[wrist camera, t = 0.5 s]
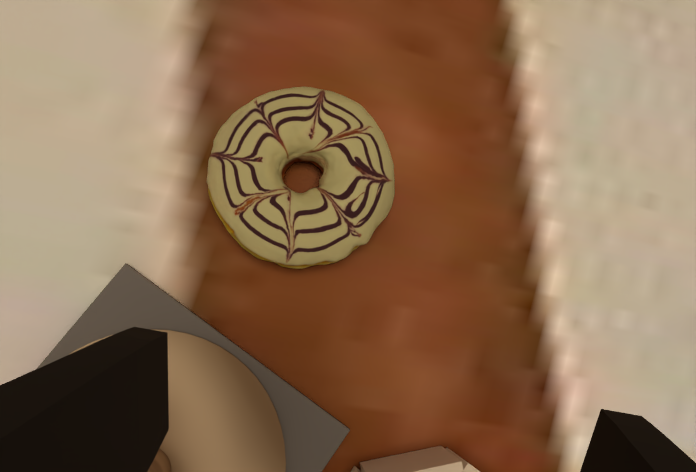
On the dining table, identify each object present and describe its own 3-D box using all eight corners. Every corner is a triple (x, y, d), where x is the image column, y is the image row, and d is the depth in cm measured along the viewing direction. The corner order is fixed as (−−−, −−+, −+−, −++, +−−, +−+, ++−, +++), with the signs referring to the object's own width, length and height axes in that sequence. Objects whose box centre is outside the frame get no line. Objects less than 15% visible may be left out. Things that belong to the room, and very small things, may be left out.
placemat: (170, 690, 28) (169, 695, 28) (-82, 511, 28) (-87, 514, 27) (349, 428, 32) (350, 429, 31) (127, 264, 31) (125, 263, 31)
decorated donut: (417, 204, 34) (435, 192, 31) (279, 304, 32) (281, 303, 29) (322, 73, 35) (329, 45, 31) (178, 164, 32) (167, 145, 29)
